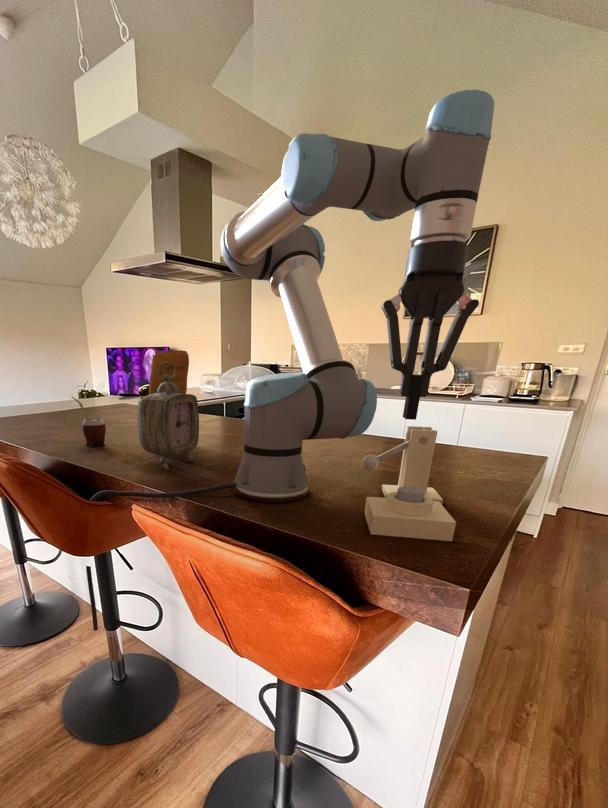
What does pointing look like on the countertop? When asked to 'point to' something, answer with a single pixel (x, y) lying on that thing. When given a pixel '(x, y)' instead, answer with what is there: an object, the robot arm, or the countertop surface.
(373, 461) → the flush lever
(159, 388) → the tabletop clock
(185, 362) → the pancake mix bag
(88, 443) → the mate gourd
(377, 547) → the countertop surface
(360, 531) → the countertop surface
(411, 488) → the grey round button
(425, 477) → the bracket
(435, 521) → the cream rectangular base
